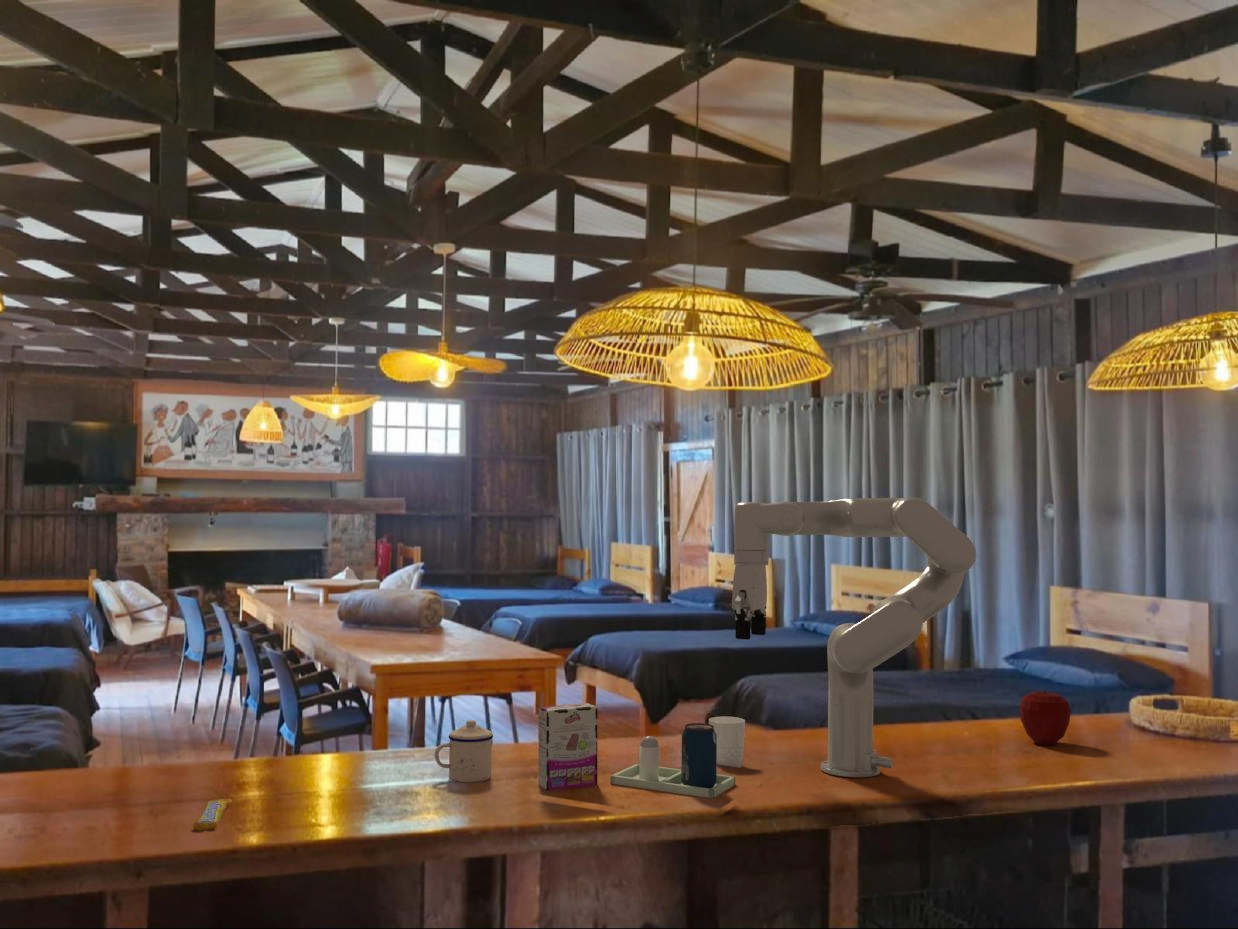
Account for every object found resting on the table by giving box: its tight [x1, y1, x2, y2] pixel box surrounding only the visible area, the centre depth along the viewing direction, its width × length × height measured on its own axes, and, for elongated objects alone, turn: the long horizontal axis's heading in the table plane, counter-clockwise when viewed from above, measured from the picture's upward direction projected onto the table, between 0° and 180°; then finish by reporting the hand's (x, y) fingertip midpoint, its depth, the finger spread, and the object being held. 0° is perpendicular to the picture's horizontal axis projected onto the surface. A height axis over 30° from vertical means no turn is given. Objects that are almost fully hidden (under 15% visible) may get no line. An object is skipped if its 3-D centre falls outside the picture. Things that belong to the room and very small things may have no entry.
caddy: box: [609, 763, 736, 799], centre depth 214 cm, size 22×12×2 cm, turn 63°
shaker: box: [638, 735, 660, 781], centre depth 217 cm, size 4×4×9 cm
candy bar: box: [192, 798, 233, 831], centre depth 191 cm, size 17×4×2 cm, turn 12°
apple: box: [1019, 688, 1072, 746], centre depth 263 cm, size 12×12×13 cm
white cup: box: [708, 715, 746, 768], centre depth 235 cm, size 8×8×10 cm
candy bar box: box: [537, 702, 598, 791], centre depth 213 cm, size 11×5×16 cm, turn 118°
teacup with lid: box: [434, 719, 494, 783], centre depth 221 cm, size 12×9×12 cm
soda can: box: [680, 722, 718, 789], centre depth 212 cm, size 7×7×12 cm
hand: (750, 636), depth 234 cm, fingers open, 9 cm apart
